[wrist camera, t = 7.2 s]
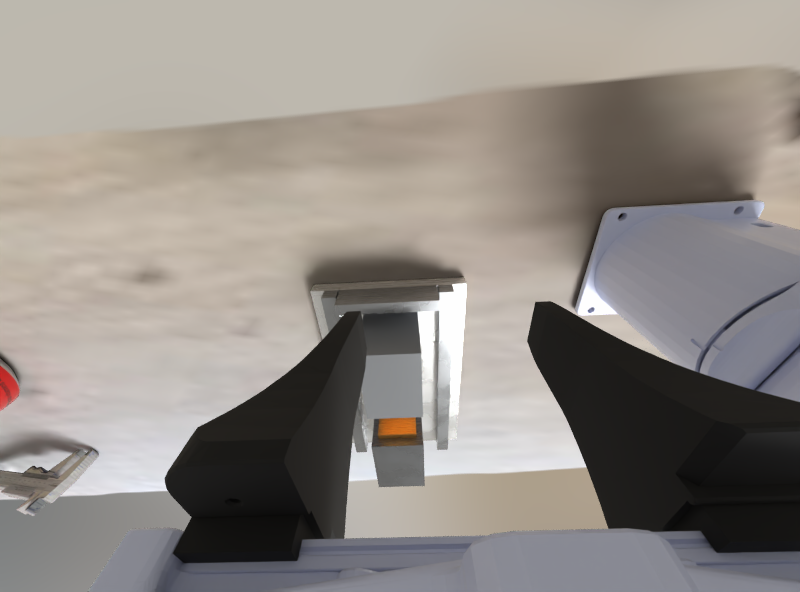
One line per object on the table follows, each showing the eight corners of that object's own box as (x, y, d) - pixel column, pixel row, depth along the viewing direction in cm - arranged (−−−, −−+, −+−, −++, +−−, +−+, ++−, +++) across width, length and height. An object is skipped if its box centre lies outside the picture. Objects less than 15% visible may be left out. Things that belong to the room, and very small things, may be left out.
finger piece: (417, 311, 21) (421, 353, 18) (419, 374, 25) (423, 421, 21) (363, 313, 21) (355, 356, 18) (372, 376, 25) (367, 423, 21)
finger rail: (464, 277, 21) (482, 322, 16) (454, 430, 30) (464, 487, 26) (313, 284, 21) (289, 330, 17) (349, 433, 31) (340, 490, 26)
